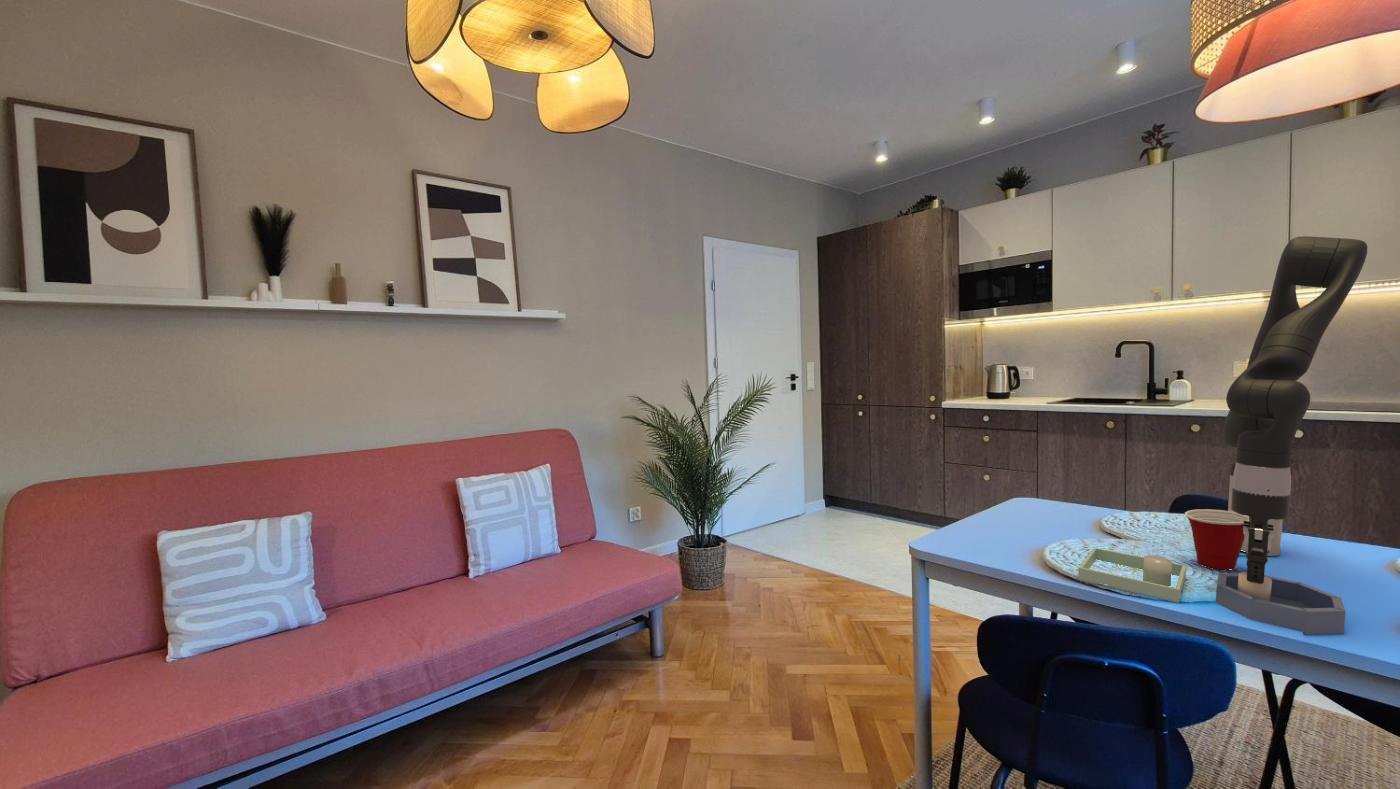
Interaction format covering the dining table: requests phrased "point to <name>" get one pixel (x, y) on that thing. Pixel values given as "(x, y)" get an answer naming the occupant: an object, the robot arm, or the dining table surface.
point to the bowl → (1285, 605)
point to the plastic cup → (1217, 537)
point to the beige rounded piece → (1157, 570)
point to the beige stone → (1255, 587)
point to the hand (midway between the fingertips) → (1254, 575)
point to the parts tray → (1130, 583)
